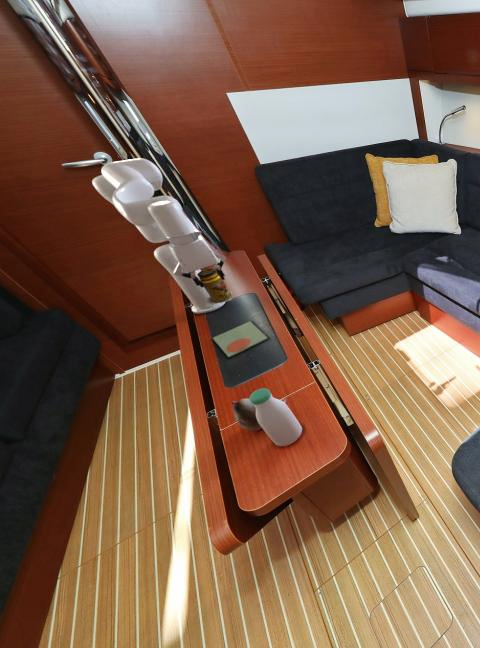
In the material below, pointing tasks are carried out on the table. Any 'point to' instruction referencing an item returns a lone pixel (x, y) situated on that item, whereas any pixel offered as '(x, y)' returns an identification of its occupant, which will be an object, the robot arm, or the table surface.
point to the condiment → (214, 287)
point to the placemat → (240, 339)
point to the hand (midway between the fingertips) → (212, 282)
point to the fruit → (246, 414)
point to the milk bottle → (275, 418)
